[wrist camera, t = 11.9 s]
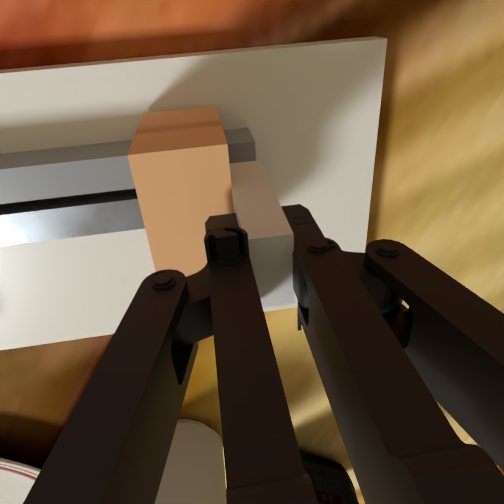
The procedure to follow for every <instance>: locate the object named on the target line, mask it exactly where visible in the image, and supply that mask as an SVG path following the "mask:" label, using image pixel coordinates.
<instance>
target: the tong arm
mask: <svg viewBox="0 0 504 504" xmlns="http://www.w3.org/2000/svg"><path fill="white" fill-rule="evenodd" d="M137 229H145V226H144V222H143V218H142V214H141V210H140V206H139V201H138V197H137V193H136V189H126V190H117V191H109V192H100V193H92V194H83V195H74V196H66V197H57V198H49V199H40V200H32V201H23V202H14V203H6V204H0V247H1V246H9V245H17V244H25V243H33V242H41V241H49V240H57V239H65V238H73V237H81V236H89V235H97V234H105V233H113V232H121V231H129V230H137Z"/></svg>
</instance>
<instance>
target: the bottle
mask: <svg viewBox="0 0 504 504" xmlns="http://www.w3.org/2000/svg"><path fill="white" fill-rule="evenodd" d="M299 452H300V456H301V460H302V464H303V467H304V470H305V473H306V474H308V475H309V477H310V479H311V482H312V484H313V488H314V491H315V494H316V498H317V502H318V504H359V503H358V500H357V497H356V493H355V489H354V486H353V483H352V481H351V479H350V477H349V475H348V473H347V472H346V470H345V469H344V467H343V466H342V465H341V464H339V463H337V462H335V461H333V460H330V459H327V458H324V457H321V456H318V455H315V454H312V453H309V452H305V451H300V450H299Z"/></svg>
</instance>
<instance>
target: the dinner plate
mask: <svg viewBox="0 0 504 504" xmlns="http://www.w3.org/2000/svg"><path fill="white" fill-rule="evenodd" d="M40 471H41V469H38V468H35V467H32V466H29V465H26V464H22V463H19V462H15V461H12V460H7V459H3V458H0V504H23V502H24V501H25V499H26V497H27V495H28V493H29V491H30V489H31V488H32V486H33V484H34V482H35V480H36V478H37V476H38V475H39V473H40Z"/></svg>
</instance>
